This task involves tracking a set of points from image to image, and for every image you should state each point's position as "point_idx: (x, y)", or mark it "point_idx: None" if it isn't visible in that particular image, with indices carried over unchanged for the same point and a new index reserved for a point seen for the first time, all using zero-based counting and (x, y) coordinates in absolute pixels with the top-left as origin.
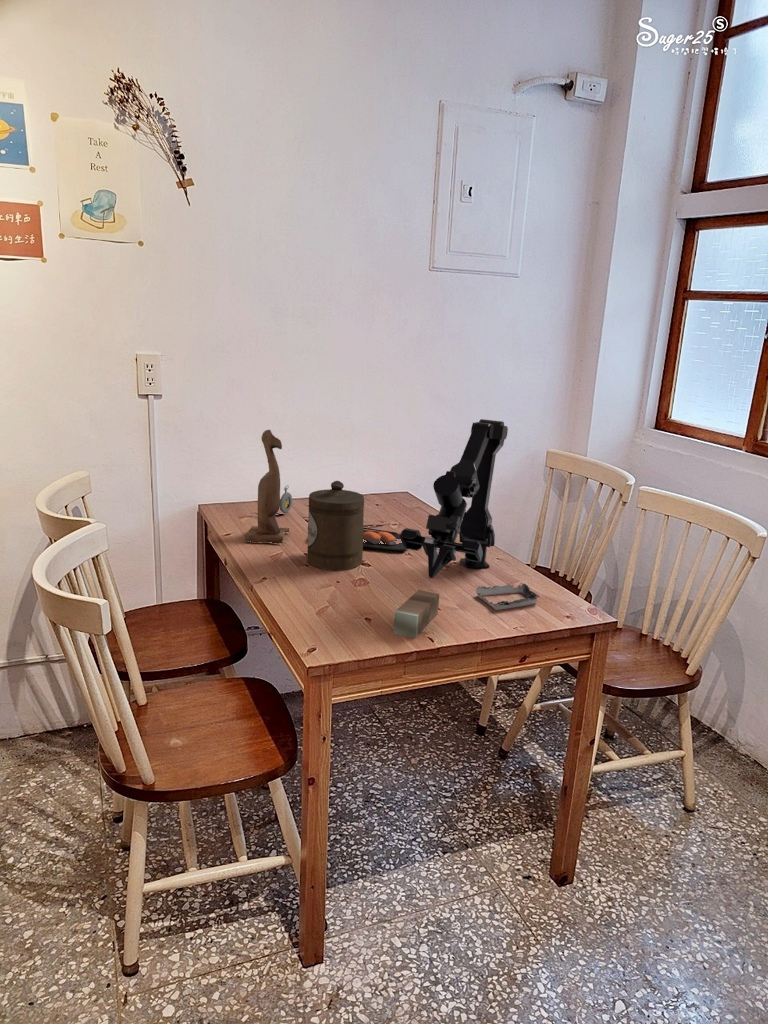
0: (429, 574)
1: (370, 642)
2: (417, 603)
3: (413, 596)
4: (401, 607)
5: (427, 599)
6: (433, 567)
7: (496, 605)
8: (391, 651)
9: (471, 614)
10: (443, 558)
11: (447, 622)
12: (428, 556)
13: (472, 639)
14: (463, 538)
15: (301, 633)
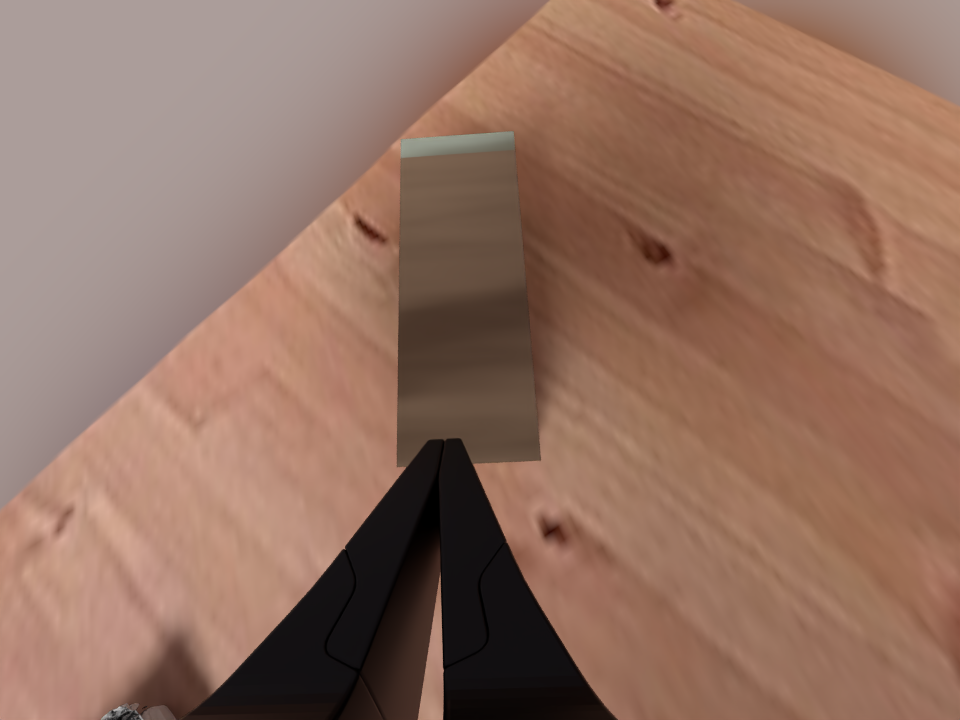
0: (454, 444)
1: (542, 111)
2: (457, 265)
3: (518, 339)
4: (507, 182)
5: (431, 345)
6: (421, 496)
7: (131, 705)
8: (454, 98)
9: (276, 559)
10: (266, 651)
11: (357, 404)
12: (530, 609)
13: (227, 311)
14: None
15: (767, 51)
